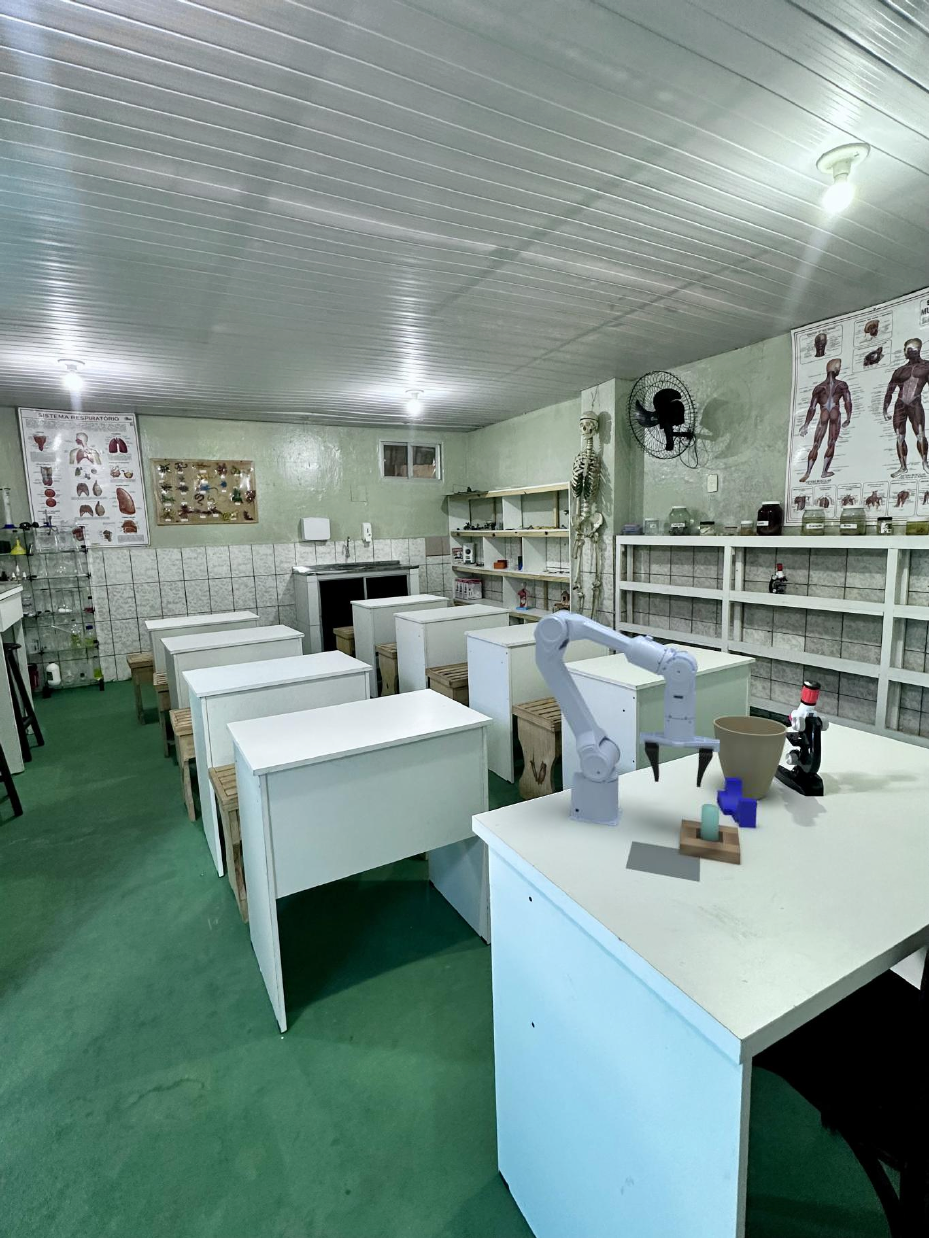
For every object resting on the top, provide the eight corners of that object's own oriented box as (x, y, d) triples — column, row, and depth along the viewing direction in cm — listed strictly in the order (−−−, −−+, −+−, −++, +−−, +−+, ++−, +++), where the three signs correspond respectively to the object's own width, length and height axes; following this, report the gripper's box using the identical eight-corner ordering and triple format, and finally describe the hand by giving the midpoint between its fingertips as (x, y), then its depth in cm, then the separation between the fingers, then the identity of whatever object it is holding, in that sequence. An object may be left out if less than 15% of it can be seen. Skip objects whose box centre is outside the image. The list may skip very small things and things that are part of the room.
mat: (625, 870, 103) (625, 867, 103) (632, 843, 113) (632, 841, 113) (699, 883, 99) (699, 881, 99) (700, 854, 108) (700, 852, 108)
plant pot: (799, 804, 128) (803, 732, 126) (734, 809, 126) (737, 737, 124) (757, 777, 142) (759, 713, 140) (698, 781, 140) (700, 716, 138)
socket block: (679, 856, 108) (679, 843, 107) (681, 831, 117) (681, 819, 116) (739, 866, 104) (740, 853, 104) (737, 839, 113) (737, 827, 113)
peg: (699, 850, 110) (701, 809, 108) (700, 843, 112) (702, 802, 111) (717, 853, 108) (719, 812, 107) (718, 846, 111) (719, 805, 110)
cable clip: (716, 803, 129) (717, 777, 129) (738, 804, 129) (739, 778, 128) (731, 829, 118) (732, 800, 117) (755, 830, 117) (756, 802, 116)
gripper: (638, 717, 113) (636, 785, 115) (720, 724, 108) (718, 795, 110) (641, 707, 120) (640, 772, 121) (719, 714, 114) (717, 781, 116)
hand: (677, 782), depth 116 cm, fingers open, 7 cm apart
